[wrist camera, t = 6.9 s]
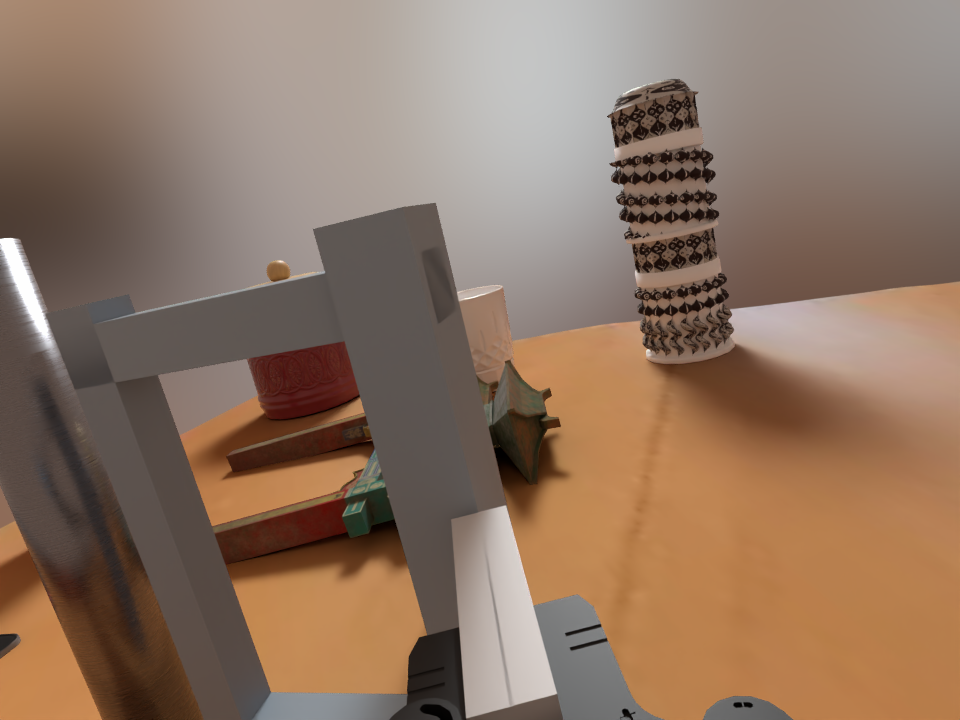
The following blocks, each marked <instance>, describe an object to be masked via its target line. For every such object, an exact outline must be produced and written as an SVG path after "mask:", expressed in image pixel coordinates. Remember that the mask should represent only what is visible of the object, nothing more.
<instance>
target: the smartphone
mask: <svg viewBox="0 0 960 720" xmlns="http://www.w3.org/2000/svg"><path fill="white" fill-rule="evenodd" d="M20 641H21V639H20V637H19V635H18V634H0V659H1V658H2V657H3V656H4V655H6V654H7V653H8V652H10V651H11V650H12V649H13V648H15V647H16V646H17V645H18V644H19V643H20Z"/></svg>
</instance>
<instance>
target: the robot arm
mask: <svg viewBox="0 0 960 720" xmlns="http://www.w3.org/2000/svg"><path fill="white" fill-rule="evenodd" d="M451 524H452V538H453V551H454V564H455V577H456V591H457V604H458V617H459V627H458V628H454V629H450V630H446V631H442V632H438V633H434V634H431V635H427V636H423V637H419V639H418V641H417V642H416V644H415V646H414V648H413V650H412V652H411V654H410V655H409V664H408V679H409V680H408V686H407V693H408V696H407V705H406V706H404V707H403V708H402V709H400V710H399V711H398V712H397V713H395V714H394V715H393V716H392V717H391V718H390V719H389V720H664V719H661V718H658V717H655V716H653V715H651V714H650V713H648V712H646V711H644V710H643V709H642V708H641V707H640V706H639V705H638V704H637V703H636V702H635V700H634V699H633V697H632V695H631V694H630V691H629V689H628V687H627V684H626V682H625V680H624V677H623V675H622V673H621V670H620V668H619V666H618V663H617V661H616V659H615V656H614V654H613V651H612V649H611V647H610V644H609V642H608V641H607V637H606V635H605V633H604V630H603V628H602V627H601V623H600V621H599V619H598V616H597V614H596V612H595V609H594V607H593V606H592V605H591V604H589V603H588V602H587V601H585V600H584V599H583V598H582V597H580V596H579V595H578V594H577V595H573V596H569V597H566V598H562V599H558V600H554V601H550V602H546V603H542V604H538V605H535V606H533V603H532V599H531V596H530V592H529V588H528V585H527V581H526V577H525V574H524V570H523V566H522V563H521V559H520V555H519V551H518V548H517V544H516V540H515V537H514V533H513V529H512V526H511V522H510V518H509V515H508V511H507V507H506V505H505V506H501V507H497V508H493V509H489V510H485V511H481V512H478V513H474V514H470V515H466V516H462V517H458V518H454V519H451ZM703 720H793V719H792V718H791V717H789V716H788V715H787V714H786V713H785V712H784V711H782V710H781V709H779V708H778V707H776V706H775V705H773V704H771V703H770V702H768V701H764V700H761V699H758V698H755V697H751V696H733V697H730V698H726V699H723V700H720V701H718V702H716V703H715V704H714V705H713V706H711V707H710V708H709V709H708V710H707V711H706V714H705V716H704V718H703Z"/></svg>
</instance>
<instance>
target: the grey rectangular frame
mask: <svg viewBox="0 0 960 720" xmlns="http://www.w3.org/2000/svg"><path fill="white" fill-rule="evenodd" d="M313 231H314V235H315V238H316V242H317V245H318V249H319V252H320V256H321V259H322V263H323V266H324V270H325V271H323V272H318V273H314V274H309V275H305V276H300V277H296V278H291V279H287V280H282V281H278V282H273V283H268V284H264V285H259V286H255V287H250V288H246V289H241V290H237V291H232V292H228V293H224V294H219V295H214V296H210V297H205V298H201V299H196V300H192V301H187V302H183V303H178V304H174V305H169V306H165V307H160V308H156V309H151V310H147V311H142V312H138V313H135V310H134V308H133V305H132V302H131V299H130V296H129V295H124V296H120V297H115V298H111V299H107V300H102V301H98V302H93V303H90V304H85V305H80V306H76V307H72V308H68V309H64V310H60V311H55V312H51V313H46V314H45V315H46V318H47V320H48V323H49V325H50V328H51V330H52V333H53V335H54V338H55V341H56V343H57V346H58V348H59V351H60V353H61V356H62V358H63V361H64V364H65V366H66V369H67V371H68V374H69V376H70V379H71V381H72V384H73V386H74V389H75V392H76V394H77V397H78V399H79V402H80V404H81V407H82V409H83V412H84V415H85V417H86V420H87V422H88V425H89V427H90V430H91V432H92V435H93V438H94V440H95V443H96V445H97V448H98V450H99V453H100V455H101V458H102V461H103V463H104V466H105V468H106V471H107V473H108V476H109V478H110V481H111V484H112V486H113V489H114V491H115V494H116V496H117V499H118V501H119V504H120V507H121V509H122V512H123V514H124V517H125V519H126V522H127V524H128V527H129V530H130V532H131V535H132V537H133V540H134V542H135V545H136V547H137V550H138V553H139V555H140V558H141V560H142V563H143V565H144V568H145V570H146V573H147V576H148V578H149V581H150V583H151V586H152V588H153V591H154V593H155V596H156V599H157V601H158V604H159V606H160V609H161V611H162V614H163V616H164V619H165V622H166V624H167V627H168V629H169V632H170V634H171V637H172V639H173V642H174V645H175V647H176V650H177V652H178V655H179V657H180V660H181V662H182V665H183V667H184V670H185V673H186V675H187V678H188V680H189V683H190V685H191V688H192V690H193V693H194V696H195V698H196V701H197V703H198V706H199V708H200V711H201V713H202V716H203V719H204V720H389V719H390V718H391V717H392V716H393V715H394V714H395V713H397V712H398V711H399V710H400V709H402V708H403V707H404V706H406V705H407V696H408V694H352V693H276V692H271V691H270V688H269V685H268V682H267V680H266V677H265V674H264V671H263V668H262V666H261V663H260V660H259V657H258V654H257V652H256V649H255V646H254V643H253V640H252V638H251V635H250V632H249V629H248V626H247V624H246V621H245V618H244V615H243V612H242V610H241V607H240V604H239V601H238V598H237V596H236V593H235V590H234V587H233V584H232V582H231V579H230V576H229V573H228V571H227V568H226V565H225V562H224V559H223V557H222V554H221V551H220V548H219V545H218V543H217V540H216V537H215V534H214V531H213V529H212V526H211V523H210V520H209V517H208V515H207V512H206V509H205V506H204V503H203V501H202V498H201V495H200V492H199V489H198V487H197V484H196V481H195V478H194V475H193V473H192V470H191V467H190V464H189V461H188V459H187V456H186V453H185V450H184V447H183V445H182V442H181V439H180V436H179V433H178V431H177V428H176V425H175V422H174V420H173V417H172V414H171V411H170V408H169V406H168V403H167V400H166V397H165V394H164V392H163V389H162V386H161V383H160V381H159V378H158V375H160V374H165V373H171V372H176V371H182V370H188V369H193V368H198V367H204V366H210V365H215V364H220V363H226V362H232V361H237V360H243V359H249V358H254V357H260V356H265V355H271V354H276V353H282V352H287V351H293V350H298V349H304V348H310V347H315V346H321V345H326V344H332V343H337V342H343V341H345V344H346V348H347V351H348V355H349V359H350V362H351V366H352V369H353V373H354V376H355V380H356V383H357V387H358V390H359V394H360V398H361V401H362V405H363V408H364V412H365V415H366V419H367V422H368V426H369V429H370V433H371V437H372V440H373V444H374V447H375V451H376V454H377V458H378V461H379V465H380V468H381V472H382V475H383V479H384V483H385V486H386V490H387V493H388V497H389V500H390V504H391V507H392V511H393V514H394V518H395V522H396V525H397V529H398V532H399V536H400V539H401V543H402V546H403V550H404V553H405V557H406V561H407V564H408V568H409V571H410V575H411V578H412V582H413V585H414V589H415V592H416V596H417V599H418V603H419V607H420V610H421V614H422V617H423V621H424V624H425V628H426V631H427V635H431V634H434V633H438V632H442V631H446V630H450V629H454V628H458V627H459V617H458V604H457V591H456V577H455V564H454V551H453V538H452V524H451V519H454V518H458V517H462V516H466V515H470V514H474V513H478V512H481V511H485V510H489V509H493V508H497V507H501V506H505V505H506V507H507V504H506V499H505V495H504V491H503V487H502V482H501V478H500V474H499V470H498V465H497V461H496V457H495V453H494V448H493V444H492V440H491V436H490V431H489V427H488V423H487V419H486V414H485V410H484V406H483V402H482V397H481V393H480V389H479V385H478V380H477V376H476V372H475V368H474V363H473V359H472V355H471V351H470V346H469V342H468V338H467V334H466V329H465V325H464V321H463V317H462V312H461V308H460V304H459V300H458V295H457V291H456V287H455V283H454V278H453V274H452V270H451V266H450V261H449V257H448V253H447V249H446V245H445V240H444V236H443V232H442V228H441V224H440V220H439V215H438V211H437V206H436V203H431V204H423V205H416V206H408V207H402V208H397V209H394V210H389V211H385V212H381V213H377V214H373V215H369V216H365V217H361V218H357V219H353V220H349V221H344V222H340V223H336V224H333V225H328V226H324V227H320V228H316V229H313ZM507 511H508V508H507ZM508 515H509V512H508ZM509 518H510V516H509ZM510 522H511V520H510ZM511 526H512V525H511Z"/></svg>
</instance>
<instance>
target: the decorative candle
mask: <svg viewBox="0 0 960 720" xmlns="http://www.w3.org/2000/svg"><path fill="white" fill-rule="evenodd" d="M697 93H698V92H693V91H692V90H690V89H689V87H688V86H687V85H686V84H685V83H684V82H683V81H682V80H680V79H669V80H664V81H659V82H654V83H651V84H647V85H644V86H641V87H638V88H635V89H632V90H629V91H627V92H625V93H623V94H622V95H620V96H619V98H618V99H617V101H616V104H615V107H614V110H613V112H612V114H610V115H608V116H607V117H608V118H611V124H612V129H613V136H614V141H615V147H616V149H614V152H615V159H616V161H615V162H614V163H610V165H611V166H613V167H616V168H617V167H618V166H619V167H620V169H619V170H618V171H617V170H616V171H615V172H614V173H613V175H612V176H611V181H612V182H614V183H617V184H618V185H619V183H620V184H623V186H624V190H623V191H621V192H620V193H619V194H618V195H617V197H616V200H617V202H618V203H619V204H621V205H624V208H623V209H622V210H621V211H620V216H619V218H620V219H621V220H623V221H626V222H630V227H629V229H628V230H627V231H626V232H625V233H624V236H625V239H627V240H626V241H627V243H628V244H632V248H633V254H634V260H635V266H636V271H635V277H636V283H637V287H639V288H637V289H636V290H635V297H636V298H638V299H641V300H643V301H642V302H641V303H640V304H639V305H638V309H637V310H638V312H639V313H640V314H643V315H645V316H644V318H643V319H642V321H641V322H640V330H641V331H642V332H643V333H644V334H645V335H644V336H643V345H644V346H645V347H646V348H647V349H648V350H647V351H646V358H647V360H649V361H651V362H653V363H660V364H685V363H692V362H699V361H704V360H708V359H711V358H715V357H719V356H721V355H723V354H725V353H728V352H730V351H731V350H732V349H733V348H734V347H735V345H734V342H733V340H732V338H730V335H731V334H732V333H733V331H734V328H733V327H732V325H731V323H729V322H728V319H729V318H730V317H731V316H732V313H731V311H730V309H729V308H728V307H727V306H725V305H724V304H723V303H722V302H723V301H724V300H726V299H727V298H728V297H729V294H728V293H727V291H726V290H724V289H722V288H720V287H721V285H723V284H724V283H725V282H726V280H727V278H726V277H725V275H724V274H722V273H720V272H721V267H720V258H719V256H718V255H717V253H716V244H715V238H714V231H713V227H715V226H717V225H718V221H717V220H716V218H717V217H718V216H719V212H718V211H716V210H713V209H712V208H711V209H709V206H710V205H711V204H712V203H713V202H714V201H715V200H716V199H717V195H716V194H714V193H711V192H709V191H707V190H706V184H705V183H709V182H710V181H711V180H712V179H713V178H714V177H715V175H716V174H715V172H714V171H712V170H709V169H708V168H707V169H706V168H705V167H706V166H707V165H708V164H709V163H710V162H711V161H712V159H713V155H712V154H711V153H710V152H708V151H705V150H703V149H702V151H701V147H700V145H701V144H703V135H702V128H701V127H700V128H699V124H698V114H697V107H696V102H695V95H696V94H697ZM703 167H704V168H703ZM625 205H626V207H625ZM722 304H723V305H722Z"/></svg>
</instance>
